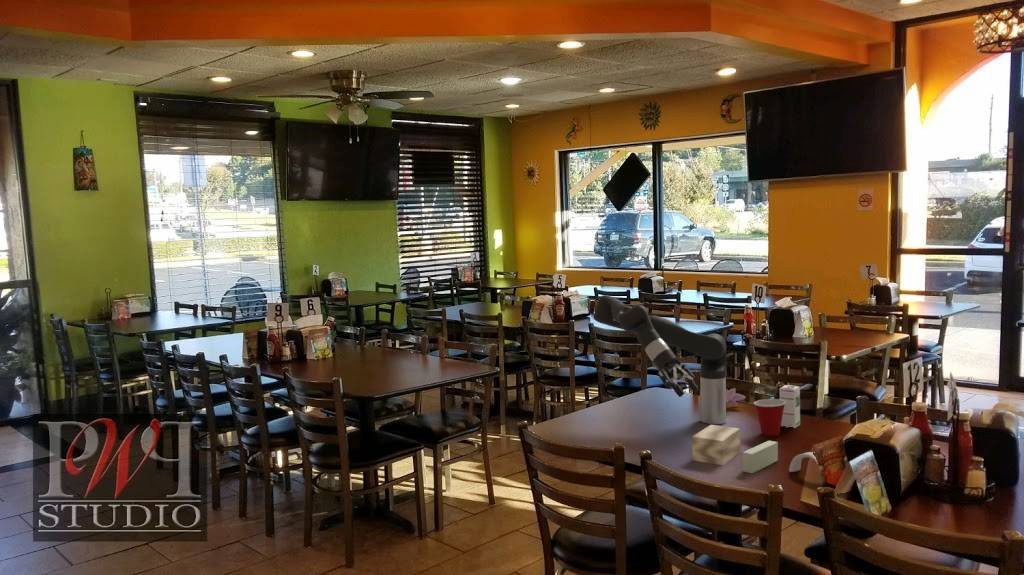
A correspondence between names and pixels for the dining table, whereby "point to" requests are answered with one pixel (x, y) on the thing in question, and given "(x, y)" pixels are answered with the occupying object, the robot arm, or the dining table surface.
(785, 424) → the syrup box
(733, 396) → the lily
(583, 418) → the dining table surface
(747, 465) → the sage board
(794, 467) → the white arch
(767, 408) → the plastic cup
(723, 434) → the birch block
